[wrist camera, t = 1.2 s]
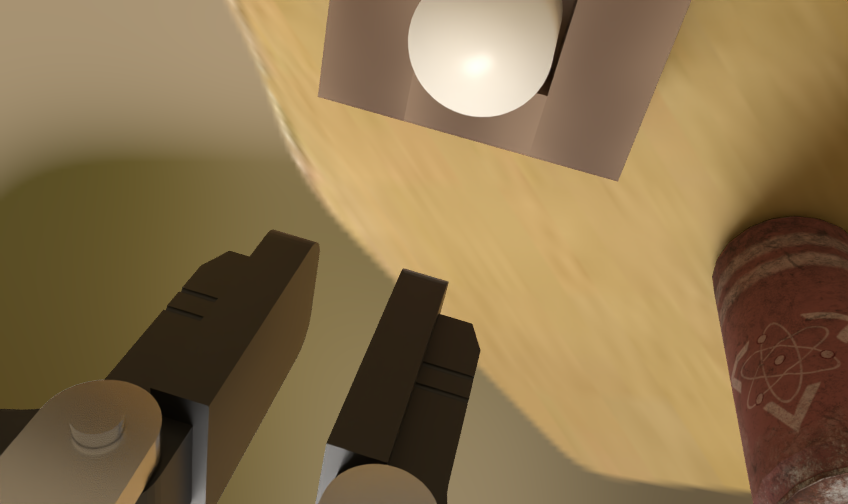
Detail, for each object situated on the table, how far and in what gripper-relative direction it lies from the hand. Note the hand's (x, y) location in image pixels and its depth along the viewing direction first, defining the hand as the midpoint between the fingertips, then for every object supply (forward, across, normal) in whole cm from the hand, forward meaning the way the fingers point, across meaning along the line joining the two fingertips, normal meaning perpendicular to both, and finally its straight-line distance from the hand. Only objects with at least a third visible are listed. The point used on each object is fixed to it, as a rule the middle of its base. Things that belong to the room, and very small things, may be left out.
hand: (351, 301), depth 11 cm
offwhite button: (+17, 0, 0) cm, 17 cm away
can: (+21, -15, +9) cm, 28 cm away
